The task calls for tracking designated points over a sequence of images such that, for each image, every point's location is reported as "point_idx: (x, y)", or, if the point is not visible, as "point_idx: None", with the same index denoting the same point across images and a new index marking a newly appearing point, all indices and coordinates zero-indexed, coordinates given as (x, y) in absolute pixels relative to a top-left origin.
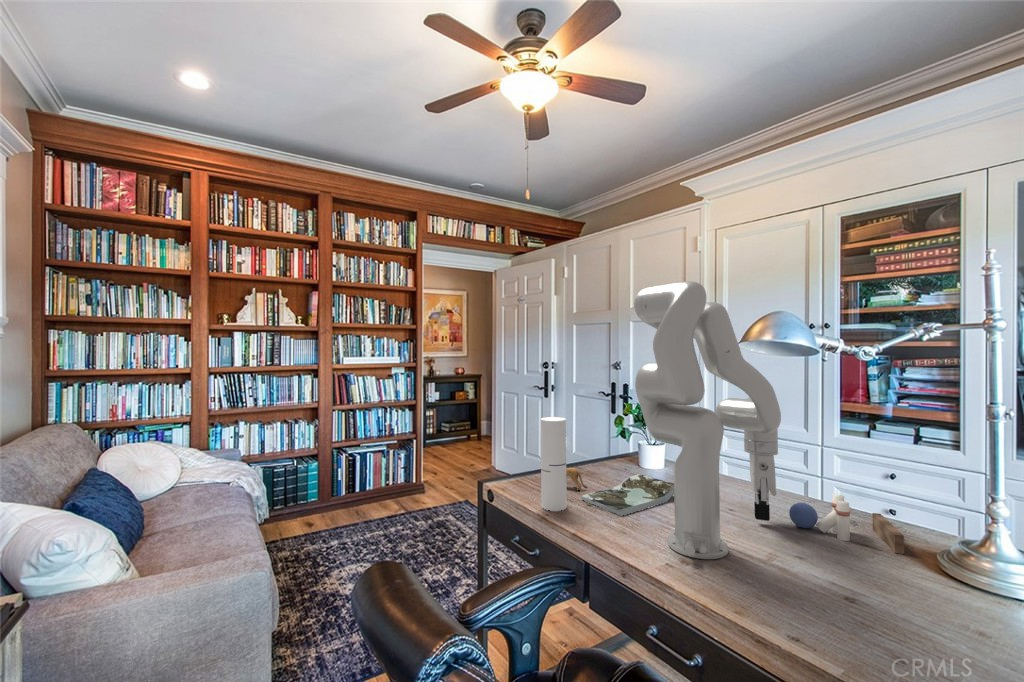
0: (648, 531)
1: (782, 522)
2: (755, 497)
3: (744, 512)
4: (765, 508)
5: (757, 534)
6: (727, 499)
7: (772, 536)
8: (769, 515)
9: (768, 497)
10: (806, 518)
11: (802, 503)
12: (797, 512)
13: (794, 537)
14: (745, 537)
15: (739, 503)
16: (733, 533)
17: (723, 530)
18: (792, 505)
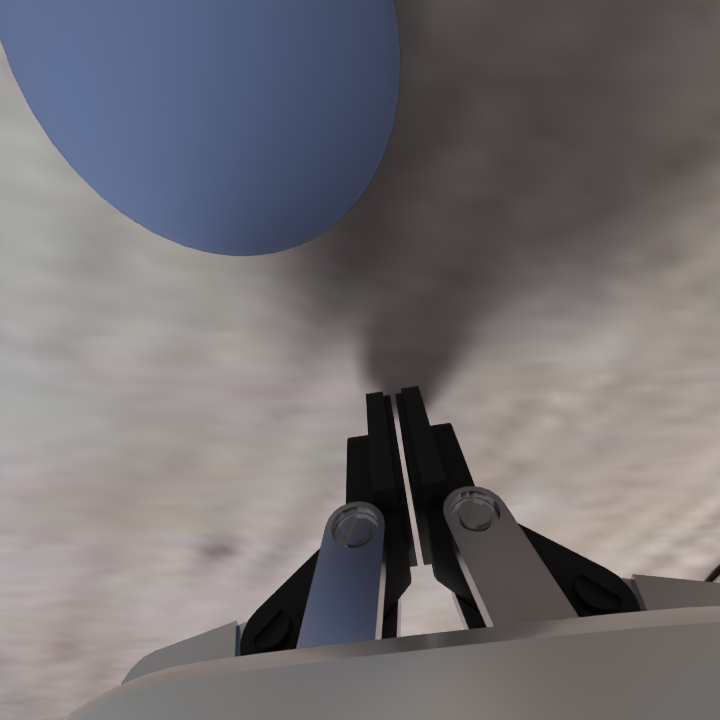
0: None
1: (248, 284)
2: (399, 623)
3: (211, 497)
4: (472, 481)
5: (586, 410)
6: (40, 580)
7: (596, 333)
8: (422, 407)
9: (560, 591)
10: (397, 25)
11: (169, 32)
12: (370, 153)
13: (569, 185)
14: (656, 456)
15: (54, 532)
16: (608, 504)
17: (578, 540)
18: (183, 230)
